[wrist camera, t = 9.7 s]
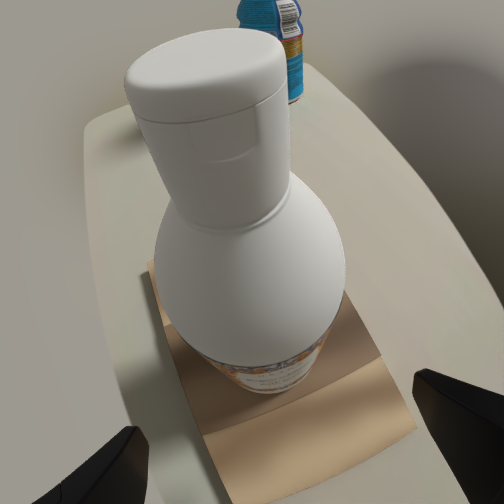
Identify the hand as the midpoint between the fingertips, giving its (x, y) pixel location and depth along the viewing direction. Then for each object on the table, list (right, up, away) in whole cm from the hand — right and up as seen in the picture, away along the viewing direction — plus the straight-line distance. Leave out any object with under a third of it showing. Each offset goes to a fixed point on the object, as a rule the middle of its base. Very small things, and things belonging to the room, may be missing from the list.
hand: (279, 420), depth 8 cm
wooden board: (+1, -2, +14) cm, 15 cm away
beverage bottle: (+3, +28, +33) cm, 44 cm away
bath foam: (0, -2, +13) cm, 14 cm away
